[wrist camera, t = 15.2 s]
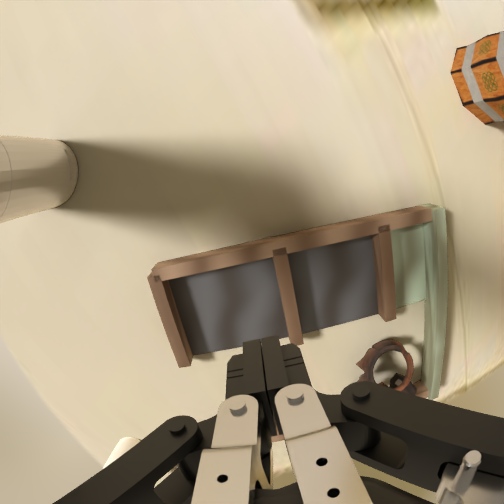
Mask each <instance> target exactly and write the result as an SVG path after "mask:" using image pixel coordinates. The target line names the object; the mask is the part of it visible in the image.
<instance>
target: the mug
mask: <svg viewBox="0 0 504 504" xmlns="http://www.w3.org/2000/svg"><path fill="white" fill-rule="evenodd" d="M451 75H452V77H453V80H454V82H455V85H456V88H457V90H458V93H459V96H460V98H461V101H462V104H463V106H464V107H465V108H467V109H468V110H469V111H470V112H471V113H473V114H474V115H475V116H476V117H477V118H478V119H480V120H481V121H482V122H483V123H484V124H485V125H486V124H489V123H493V122H498V121H504V31H502V32H499V33H495V34H491V35H487V36H485V37H483V38H482V39H480V40H478V41H477V42H475V43H472V44H470V45H468V46H464V47H460V48H457V50H456V54H455V58H454V62H453V66H452V69H451Z"/></svg>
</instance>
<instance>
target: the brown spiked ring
mask: <svg viewBox="0 0 504 504" xmlns="http://www.w3.org/2000/svg"><path fill="white" fill-rule="evenodd" d="M392 350H394V351H398V352H401V353H402V354H403V356H404V358H405V360H406V363H407V373H406V376H403V375H401V374H398V373H396V374H395V375H394V376H393V377H392V378H391V380H390V387H389V388H392V389H395V390H399V391H402V392H405V393H409V394H412V395H415V394H416V393H417V388H416V387H415V385H413V384H412V383H411V381H410V380H411V378H412V375H413V369H414V365H413V359H412V357H411V355H410V353H407V351H406V350H405V349H404V347H403V345H402V344H400V343H399V342H397V341H395V340H393V339H388V340H384V341H380V342H378V343H376V344H374V345H373V346H372V348H370V349H369V350H368V351H367V352H366V354H365V356H364V357H363V358H362V359H361V360H360V361H359V362H358V363H357V364H356V365H358V366H359V367H360V368H361V369H362V370H364V372H365V373H364V374H362V375H361V377H360V379H359V380H358V381H357V382H359V381H369V382H373V383H376V382H375V380H374V377H373V368H374V365H375V363H376V361H377V359H378V358H379V357H380V356H381V355H382V354H383V353H385V352H387V351H392ZM379 385H383V386H386V387H388V386H387V385H385V384H384V383H383V382H381V383H380V384H379Z"/></svg>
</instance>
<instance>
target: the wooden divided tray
mask: <svg viewBox="0 0 504 504" xmlns="http://www.w3.org/2000/svg"><path fill="white" fill-rule="evenodd" d="M147 278H148V281H149V284H150V288H151V291H152V294H153V297H154V300H155V303H156V306H157V309H158V311H159V314H160V317H161V320H162V323H163V326H164V329H165V331H166V334H167V337H168V340H169V342H170V345H171V348H172V350H173V353H174V355H175V358H176V361H177V363H178V366H179V368H180V367H187V366H191V362H192V358H193V355H198V354H204V353H210V352H215V351H221V350H226V349H232V348H237V347H242V346H243V342H246V341H251V340H256V339H260V341H261V338H265V337H270V336H274V335H278V337H279V339H281V338H285V337H289V340H290V343H293V344H294V345H296V346H297V345H302V344H304V343H303V337H302V334H303V333H307V332H311V331H315V330H319V329H323V328H327V327H331V326H335V325H339V324H343V323H346V322H350V321H354V320H358V319H361V318H365V317H368V316H372V315H375V314H379V315H380V316H381V317H382V318H383V319H384V321H385V322H387V321H391V320H394V319H396V308H399V307H402V306H406V305H409V304H412V303H415V302H418V301H421V300H424V299H425V327H424V350H423V365H422V377H421V381H419V382H416V383H413V385H415V387H416V388H417V393H416V394H415V396H419V397H422V398H427V397H428V398H429V399H430V400H433V399H435V398H437V397H438V395H439V389H440V382H441V374H442V366H443V358H444V348H445V336H446V322H447V300H448V252H447V230H446V216H445V208H444V207H440V206H436V205H432V204H425V205H420V206H415V207H410V208H406V209H401V210H396V211H391V212H387V213H382V214H377V215H372V216H368V217H363V218H358V219H353V220H349V221H344V222H339V223H335V224H330V225H325V226H321V227H316V228H311V229H307V230H302V231H298V232H293V233H288V234H284V235H279V236H275V237H270V238H266V239H261V240H256V241H252V242H247V243H243V244H238V245H234V246H229V247H225V248H220V249H216V250H211V251H207V252H203V253H198V254H194V255H189V256H185V257H180V258H176V259H172V260H167V261H163V262H158V263H157V264H156V265H155V266H154V267H153V269H152V272H151V274H150V275H149V276H148V277H147ZM261 343H262V342H261ZM276 428H277V425H276ZM271 439H272V442H276V441H282V440H285V439H284V436H283V434H282V435H279V432H278V428H277V436H272V437H271Z"/></svg>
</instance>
